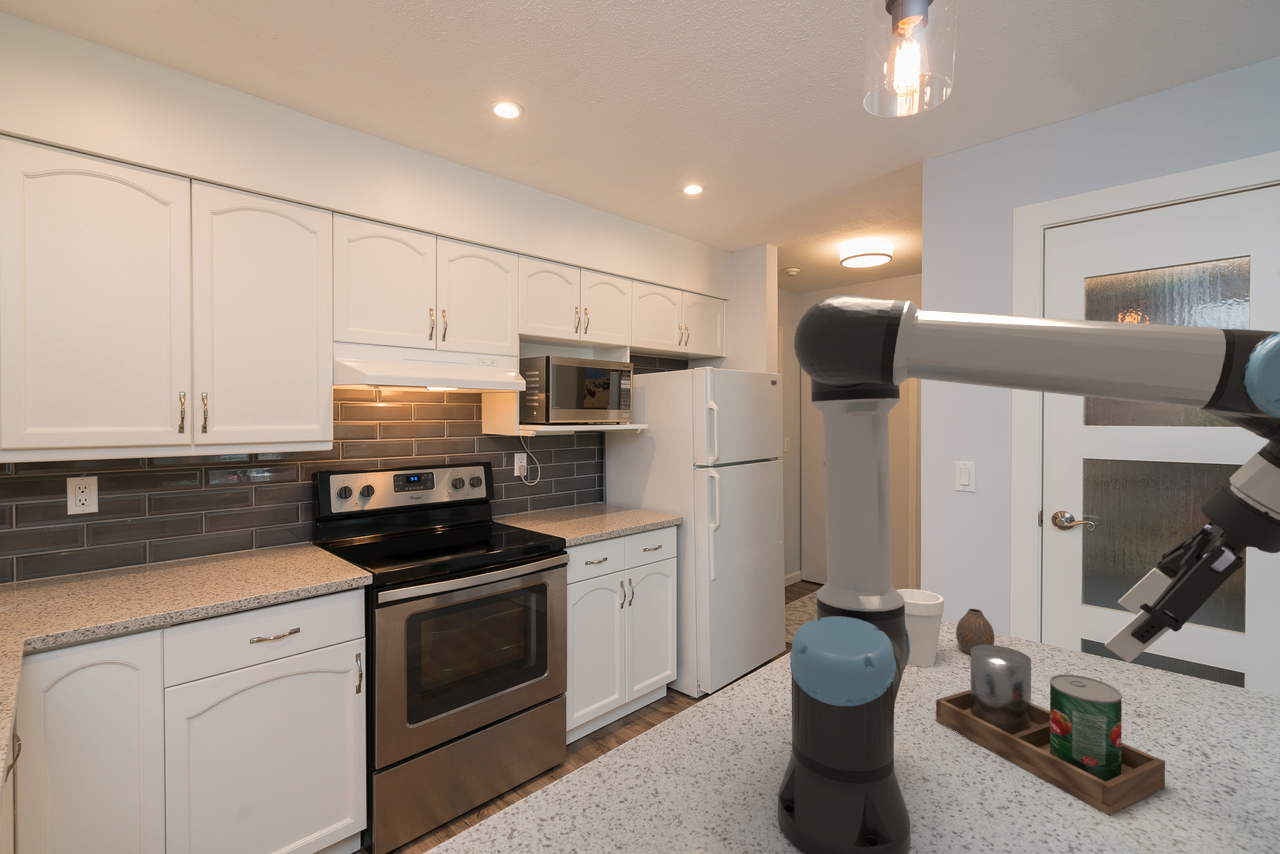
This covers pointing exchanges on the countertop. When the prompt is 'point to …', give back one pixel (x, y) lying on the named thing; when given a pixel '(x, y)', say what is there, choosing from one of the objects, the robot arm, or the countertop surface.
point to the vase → (974, 630)
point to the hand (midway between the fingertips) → (1123, 629)
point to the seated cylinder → (1001, 687)
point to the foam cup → (922, 624)
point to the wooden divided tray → (1034, 756)
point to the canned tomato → (1086, 724)
